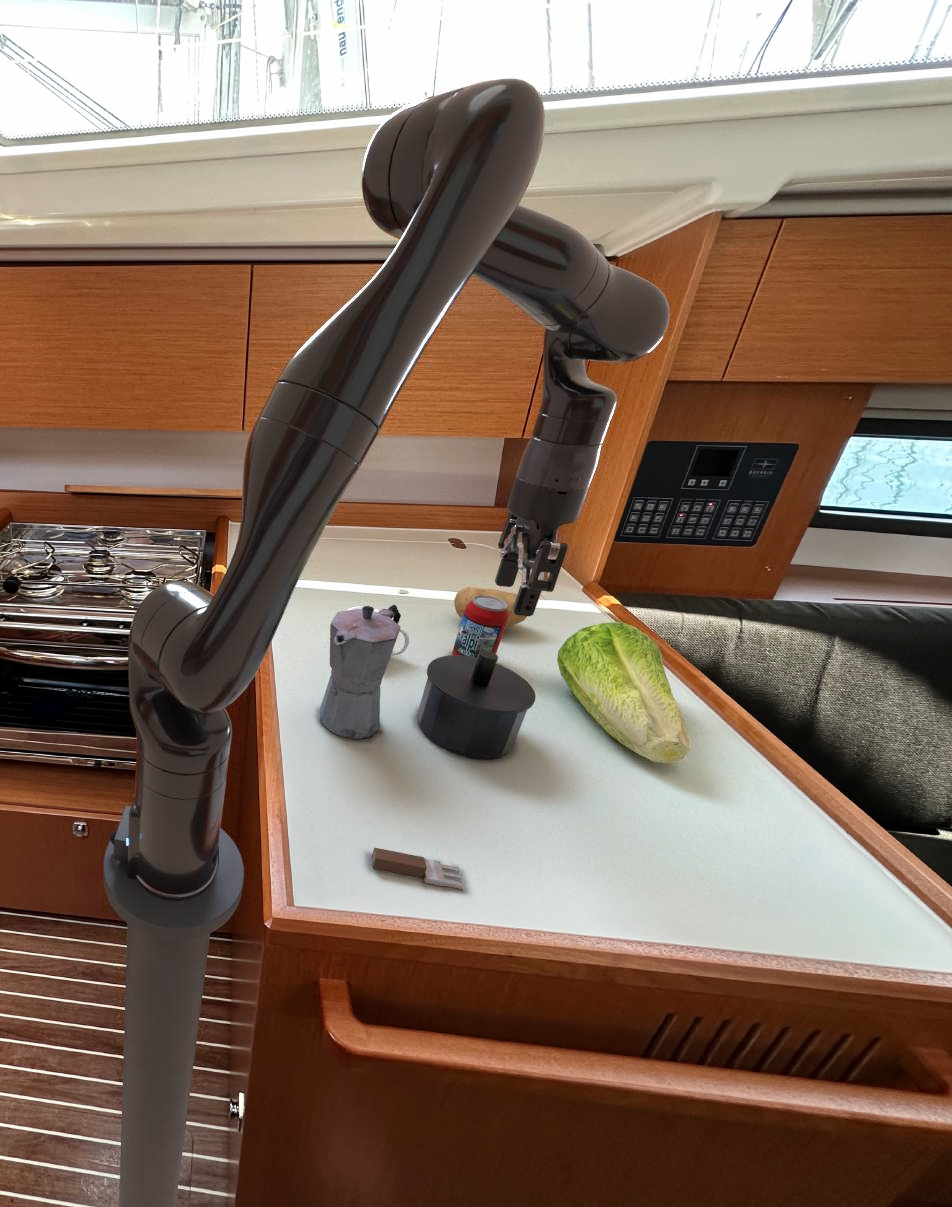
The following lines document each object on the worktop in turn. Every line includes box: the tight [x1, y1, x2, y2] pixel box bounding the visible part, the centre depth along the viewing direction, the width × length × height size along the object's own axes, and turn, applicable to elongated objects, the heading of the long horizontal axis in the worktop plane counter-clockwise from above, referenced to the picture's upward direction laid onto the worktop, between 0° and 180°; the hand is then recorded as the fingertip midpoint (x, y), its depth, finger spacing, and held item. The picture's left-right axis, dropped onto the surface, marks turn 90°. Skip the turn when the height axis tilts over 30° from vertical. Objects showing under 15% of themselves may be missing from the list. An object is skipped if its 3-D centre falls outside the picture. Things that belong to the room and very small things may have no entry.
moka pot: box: [319, 604, 402, 739], centre depth 89 cm, size 10×15×20 cm, turn 132°
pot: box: [416, 678, 528, 761], centre depth 91 cm, size 13×13×8 cm
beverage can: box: [451, 595, 509, 658], centre depth 108 cm, size 7×7×12 cm
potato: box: [453, 586, 528, 629], centre depth 121 cm, size 10×14×8 cm
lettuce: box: [556, 621, 691, 764], centre depth 93 cm, size 14×24×14 cm
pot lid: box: [426, 651, 536, 714], centre depth 88 cm, size 14×14×6 cm
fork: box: [371, 847, 464, 890], centre depth 69 cm, size 10×3×2 cm, turn 77°
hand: (512, 599), depth 80 cm, fingers open, 8 cm apart
